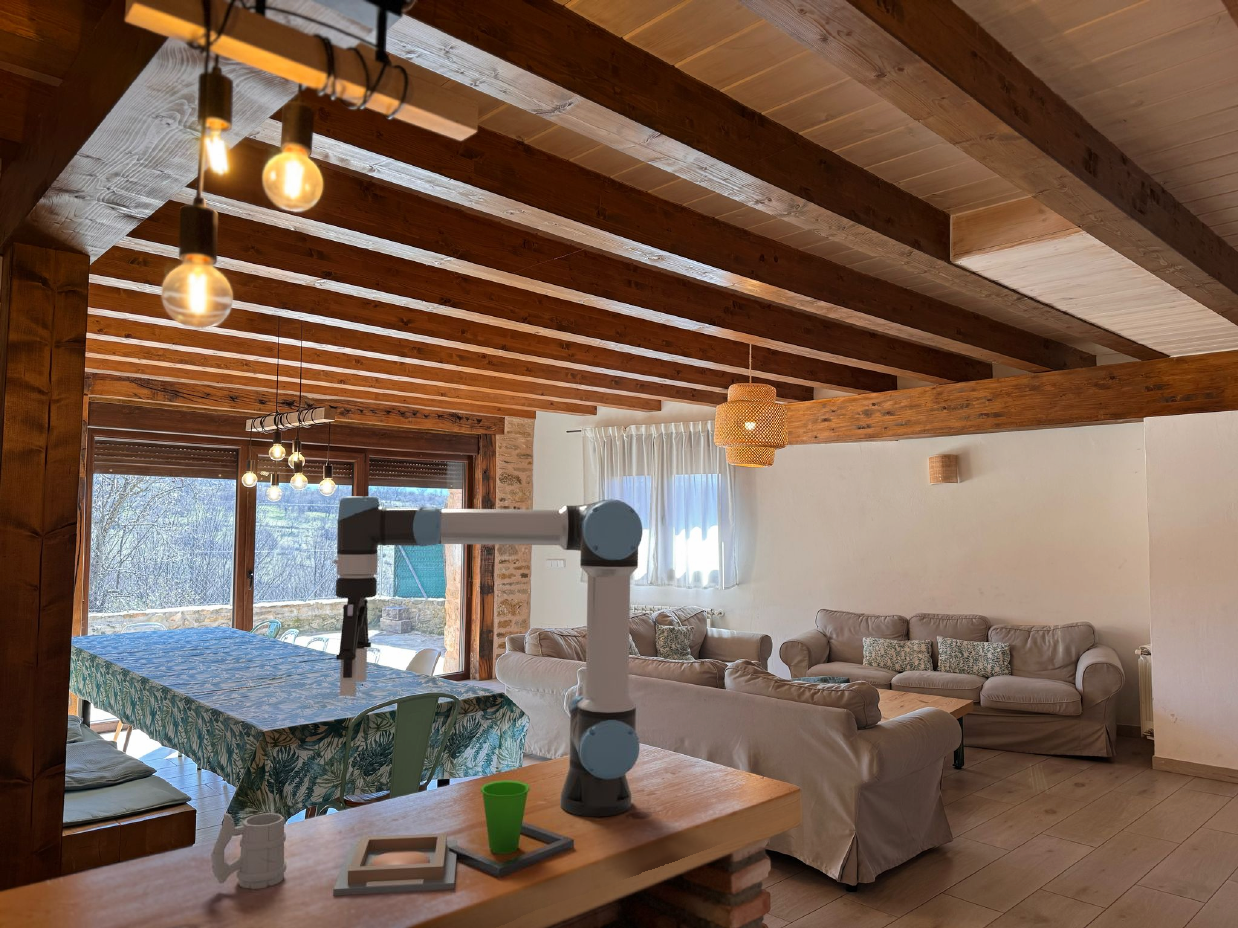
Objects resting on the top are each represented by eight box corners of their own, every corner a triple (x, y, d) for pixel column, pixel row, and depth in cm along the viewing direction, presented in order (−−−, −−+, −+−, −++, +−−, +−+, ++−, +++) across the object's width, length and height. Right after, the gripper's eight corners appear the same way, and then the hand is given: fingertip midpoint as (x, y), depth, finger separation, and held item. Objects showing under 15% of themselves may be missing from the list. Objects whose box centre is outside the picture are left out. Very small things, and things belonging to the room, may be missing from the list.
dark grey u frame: (573, 847, 158) (574, 839, 158) (499, 877, 144) (499, 868, 144) (523, 829, 167) (523, 821, 167) (448, 855, 153) (449, 847, 153)
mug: (293, 881, 142) (295, 807, 142) (217, 901, 134) (220, 822, 135) (277, 866, 147) (280, 795, 148) (203, 884, 140) (206, 809, 141)
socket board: (457, 845, 158) (457, 828, 158) (453, 889, 139) (454, 870, 140) (351, 850, 155) (351, 833, 155) (333, 895, 137) (333, 875, 137)
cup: (519, 860, 152) (521, 796, 153) (471, 855, 154) (473, 793, 154) (534, 841, 161) (536, 782, 161) (489, 837, 162) (490, 778, 163)
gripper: (347, 572, 176) (344, 676, 175) (324, 580, 152) (320, 702, 150) (384, 572, 177) (381, 676, 176) (367, 580, 153) (364, 700, 151)
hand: (353, 688), depth 163 cm, fingers open, 13 cm apart
